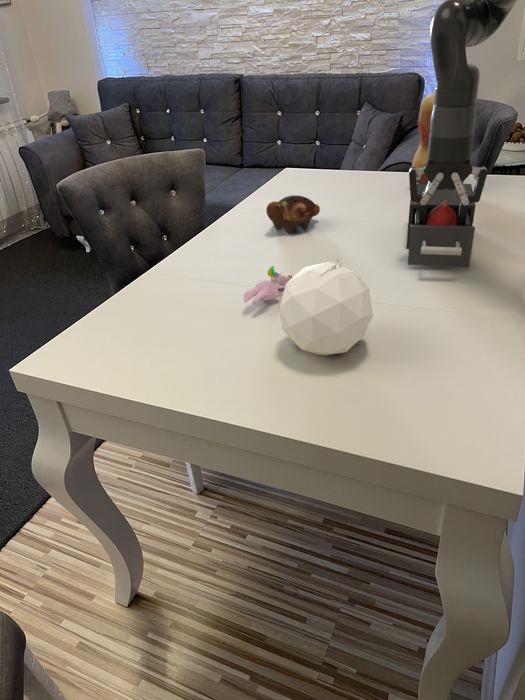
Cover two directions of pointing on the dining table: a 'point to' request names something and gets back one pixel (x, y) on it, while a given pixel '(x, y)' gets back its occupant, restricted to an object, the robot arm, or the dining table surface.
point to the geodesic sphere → (325, 308)
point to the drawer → (440, 243)
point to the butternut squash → (424, 135)
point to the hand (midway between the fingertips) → (441, 222)
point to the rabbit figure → (267, 287)
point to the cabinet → (437, 199)
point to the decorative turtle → (292, 212)
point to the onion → (442, 215)
